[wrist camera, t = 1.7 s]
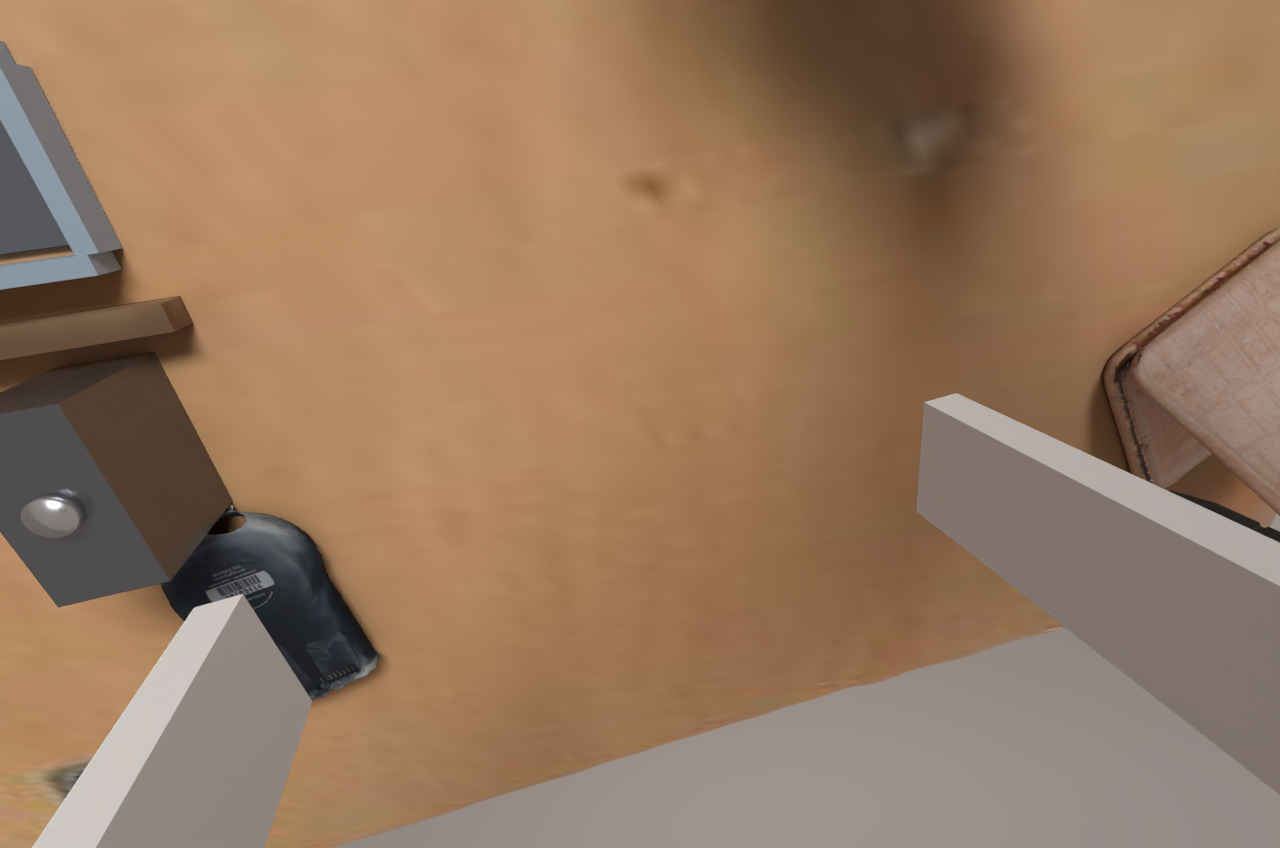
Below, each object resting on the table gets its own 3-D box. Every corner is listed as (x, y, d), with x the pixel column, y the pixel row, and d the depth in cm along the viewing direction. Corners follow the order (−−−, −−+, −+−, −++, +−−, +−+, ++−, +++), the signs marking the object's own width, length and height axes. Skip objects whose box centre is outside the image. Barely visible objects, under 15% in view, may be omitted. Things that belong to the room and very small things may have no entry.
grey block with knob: (53, 368, 30) (-93, 434, 22) (155, 351, 31) (48, 408, 23) (145, 518, 34) (49, 615, 27) (233, 499, 35) (164, 588, 28)
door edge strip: (-130, 343, 28) (-172, 354, 26) (179, 296, 30) (161, 303, 28) (-108, 371, 28) (-148, 384, 27) (192, 322, 31) (174, 331, 29)
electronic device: (397, 620, 44) (282, 486, 35) (381, 686, 39) (245, 551, 31) (286, 653, 44) (144, 527, 35) (258, 722, 40) (87, 598, 31)
